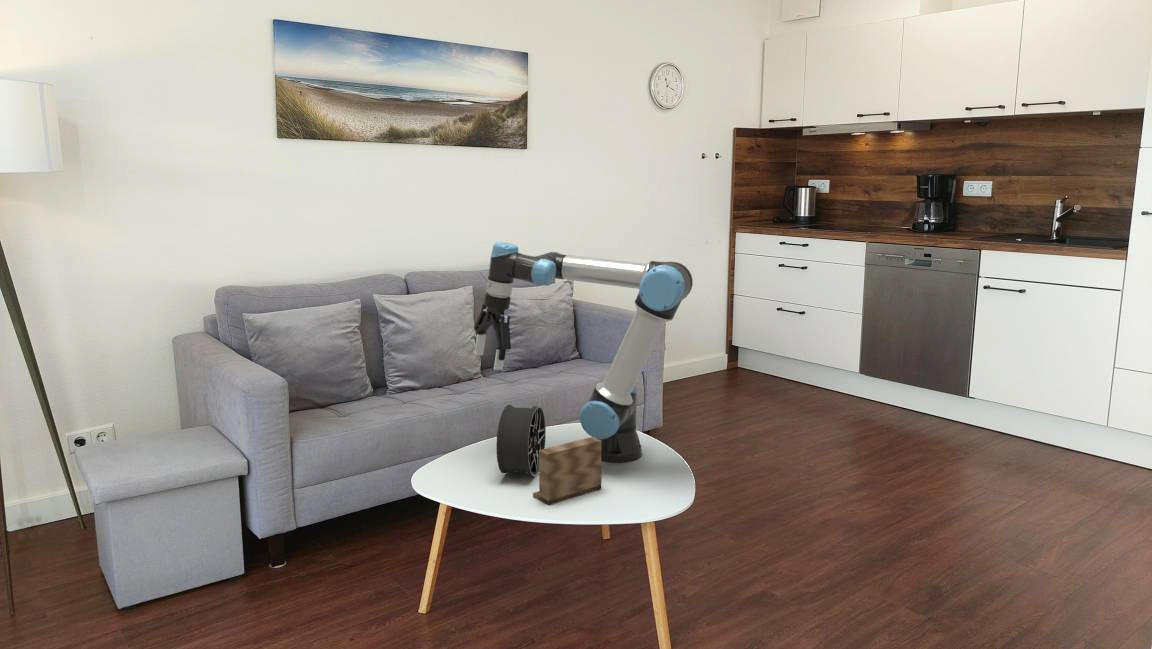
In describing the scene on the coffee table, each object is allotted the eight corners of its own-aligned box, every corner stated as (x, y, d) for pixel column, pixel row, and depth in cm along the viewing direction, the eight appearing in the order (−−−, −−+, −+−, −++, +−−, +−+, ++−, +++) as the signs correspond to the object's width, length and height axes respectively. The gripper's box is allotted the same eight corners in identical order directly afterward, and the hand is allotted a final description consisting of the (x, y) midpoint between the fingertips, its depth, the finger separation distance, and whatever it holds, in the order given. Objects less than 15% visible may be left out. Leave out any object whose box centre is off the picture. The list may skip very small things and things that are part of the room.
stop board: (585, 481, 231) (585, 434, 229) (601, 489, 226) (601, 440, 224) (533, 497, 221) (532, 447, 218) (548, 505, 215) (547, 454, 213)
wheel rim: (528, 486, 228) (527, 417, 225) (497, 484, 230) (495, 415, 226) (546, 462, 247) (545, 398, 244) (516, 460, 249) (515, 396, 246)
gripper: (469, 283, 251) (460, 349, 256) (506, 305, 231) (495, 376, 236) (491, 284, 255) (481, 349, 260) (529, 306, 235) (518, 375, 240)
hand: (488, 362), depth 248 cm, fingers open, 13 cm apart
